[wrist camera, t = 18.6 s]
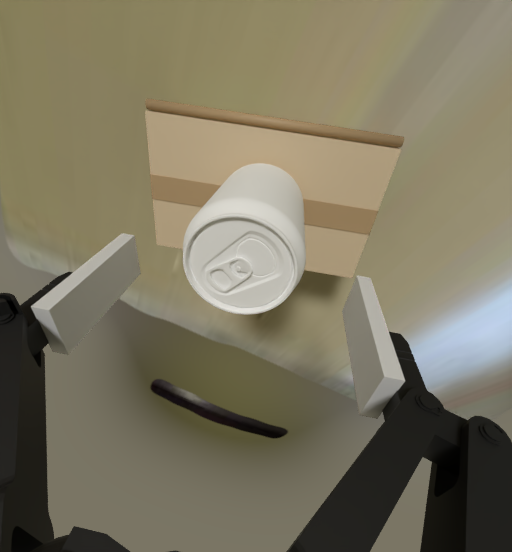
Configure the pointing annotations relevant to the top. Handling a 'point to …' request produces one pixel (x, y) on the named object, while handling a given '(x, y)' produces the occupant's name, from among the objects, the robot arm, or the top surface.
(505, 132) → the top surface
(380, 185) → the lid
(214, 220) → the beverage can
